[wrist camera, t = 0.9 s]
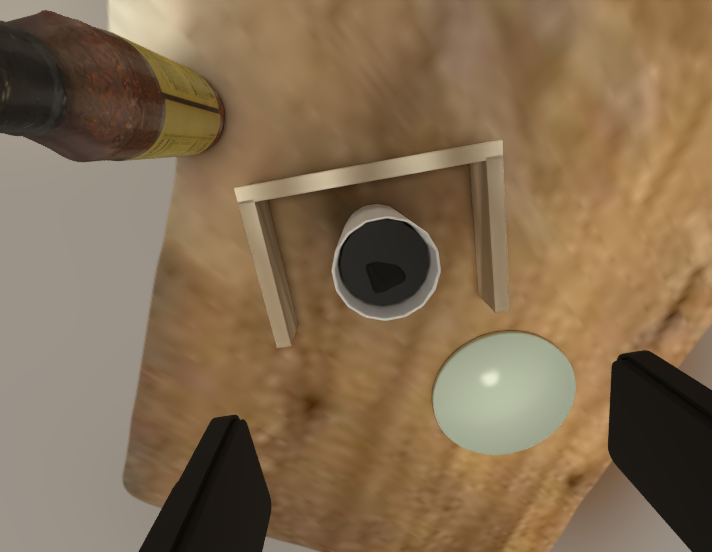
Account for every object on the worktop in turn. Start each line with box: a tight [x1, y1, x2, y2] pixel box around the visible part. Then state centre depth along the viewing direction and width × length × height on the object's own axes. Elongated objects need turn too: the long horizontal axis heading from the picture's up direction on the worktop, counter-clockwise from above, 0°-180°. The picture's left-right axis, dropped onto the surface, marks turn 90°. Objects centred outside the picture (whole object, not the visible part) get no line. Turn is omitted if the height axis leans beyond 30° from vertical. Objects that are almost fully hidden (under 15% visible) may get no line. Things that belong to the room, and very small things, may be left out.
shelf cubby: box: [234, 140, 510, 348], centre depth 30 cm, size 19×13×4 cm
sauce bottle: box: [0, 10, 224, 162], centre depth 19 cm, size 6×6×20 cm
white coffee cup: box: [332, 204, 441, 321], centre depth 27 cm, size 7×7×10 cm
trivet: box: [432, 330, 576, 455], centre depth 36 cm, size 14×14×1 cm
